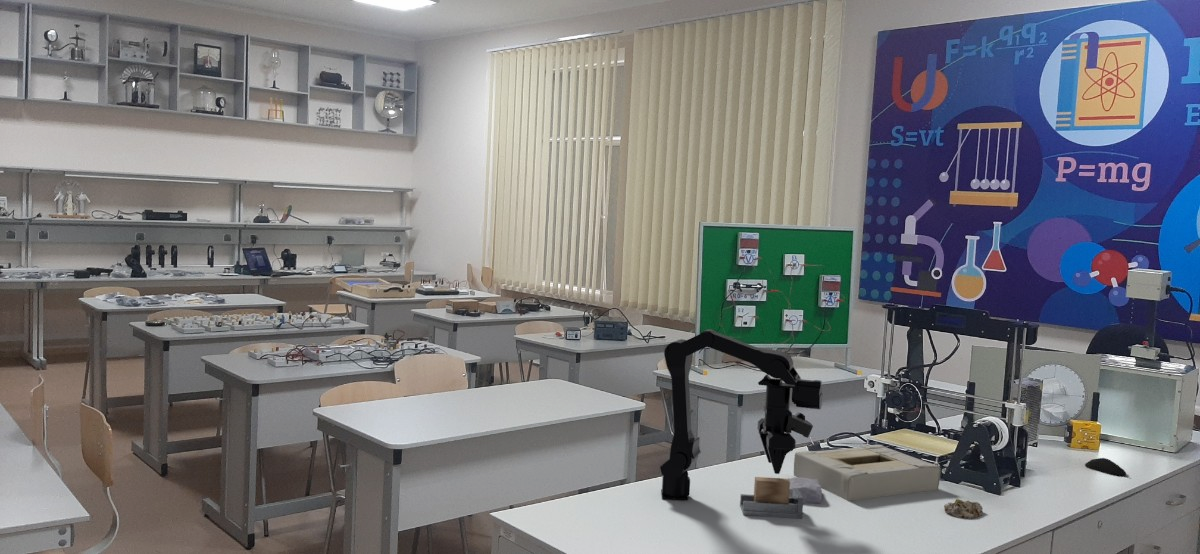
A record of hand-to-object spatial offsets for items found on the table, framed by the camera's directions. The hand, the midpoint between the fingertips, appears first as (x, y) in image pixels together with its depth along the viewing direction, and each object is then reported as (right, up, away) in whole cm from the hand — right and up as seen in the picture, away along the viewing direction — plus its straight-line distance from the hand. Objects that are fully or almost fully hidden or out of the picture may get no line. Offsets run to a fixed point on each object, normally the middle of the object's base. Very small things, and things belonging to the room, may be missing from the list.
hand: (773, 468), depth 212 cm
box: (+31, -11, +29) cm, 44 cm away
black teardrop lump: (+111, -13, +51) cm, 123 cm away
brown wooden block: (-1, -10, +1) cm, 10 cm away
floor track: (-1, -11, +1) cm, 11 cm away
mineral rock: (+49, -13, +7) cm, 51 cm away
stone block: (+10, -11, +15) cm, 21 cm away
